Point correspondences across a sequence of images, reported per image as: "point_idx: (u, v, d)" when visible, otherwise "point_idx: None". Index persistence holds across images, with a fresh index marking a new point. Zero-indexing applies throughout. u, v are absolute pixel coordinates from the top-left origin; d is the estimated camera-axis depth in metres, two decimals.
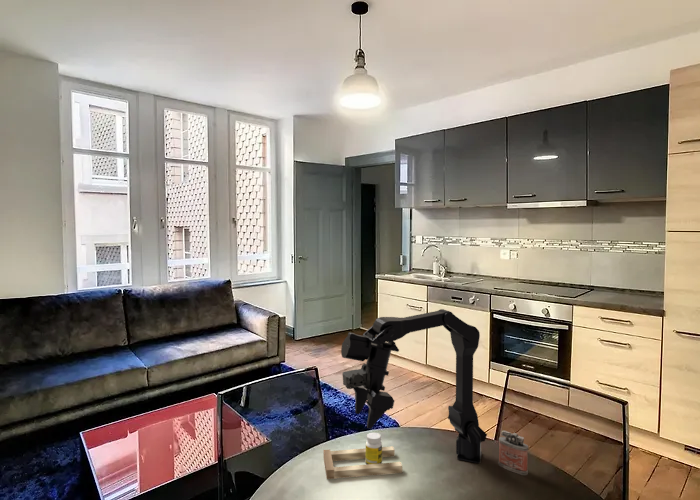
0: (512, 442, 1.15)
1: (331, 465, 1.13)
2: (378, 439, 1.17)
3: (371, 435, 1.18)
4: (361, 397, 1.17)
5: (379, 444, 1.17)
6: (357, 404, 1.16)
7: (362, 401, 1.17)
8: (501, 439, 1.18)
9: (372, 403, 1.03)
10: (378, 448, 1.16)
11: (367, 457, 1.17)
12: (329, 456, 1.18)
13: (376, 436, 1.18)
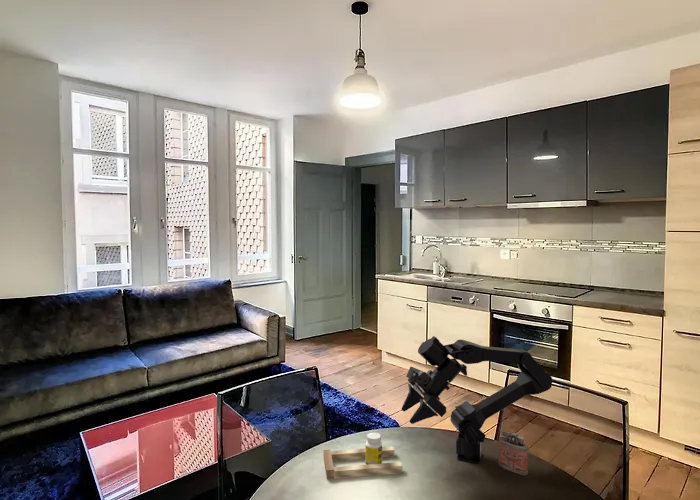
0: (512, 442, 1.15)
1: (331, 465, 1.13)
2: (378, 439, 1.17)
3: (371, 435, 1.18)
4: (412, 399, 1.24)
5: (379, 444, 1.17)
6: (406, 402, 1.23)
7: (411, 403, 1.24)
8: (501, 439, 1.18)
9: (428, 402, 1.11)
10: (378, 448, 1.16)
11: (367, 457, 1.17)
12: (329, 456, 1.18)
13: (376, 436, 1.18)
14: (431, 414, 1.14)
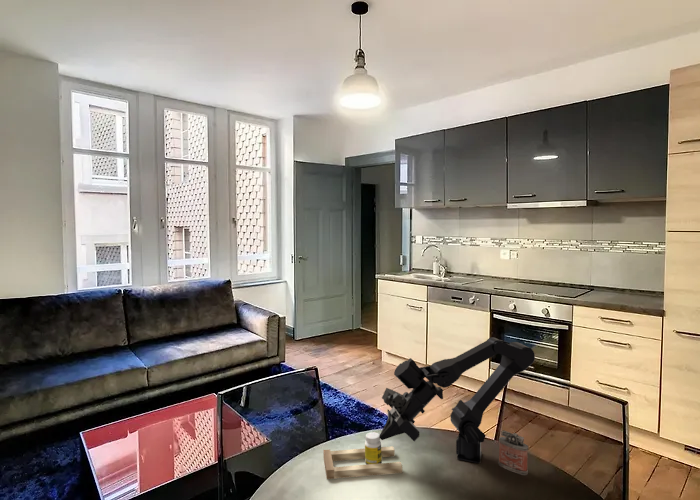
0: (512, 442, 1.15)
1: (331, 465, 1.13)
2: (377, 438, 1.17)
3: (370, 435, 1.18)
4: None
5: (378, 443, 1.17)
6: None
7: None
8: (501, 439, 1.18)
9: (401, 426, 1.10)
10: (377, 447, 1.16)
11: (367, 457, 1.17)
12: (329, 456, 1.18)
13: (374, 436, 1.18)
14: (401, 431, 1.17)
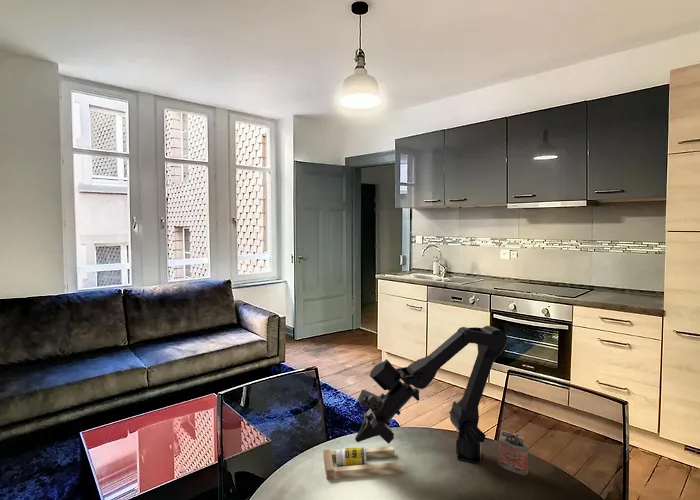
0: (512, 442, 1.15)
1: (331, 465, 1.13)
2: (337, 456, 1.16)
3: None
4: None
5: (343, 455, 1.16)
6: None
7: None
8: (501, 439, 1.18)
9: (375, 428, 1.09)
10: (345, 458, 1.16)
11: None
12: (329, 456, 1.18)
13: (336, 456, 1.17)
14: (376, 433, 1.16)
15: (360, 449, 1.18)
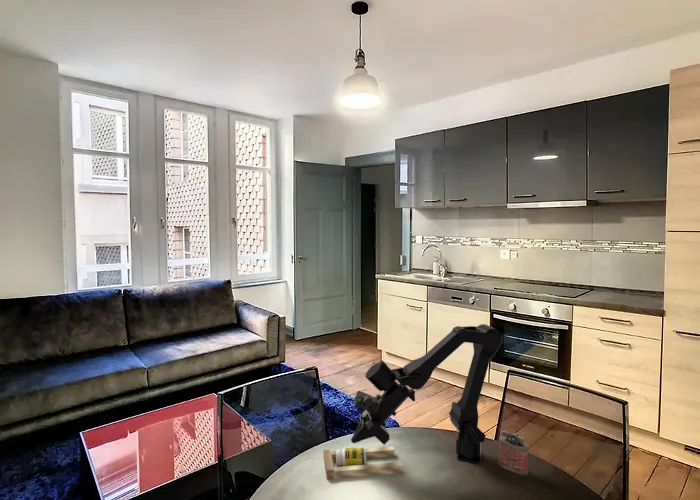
0: (512, 442, 1.15)
1: (331, 465, 1.13)
2: (337, 457, 1.16)
3: None
4: None
5: (343, 455, 1.16)
6: None
7: None
8: (501, 439, 1.18)
9: (370, 429, 1.09)
10: (345, 458, 1.16)
11: None
12: (329, 456, 1.18)
13: (336, 457, 1.17)
14: (372, 434, 1.16)
15: (360, 449, 1.18)
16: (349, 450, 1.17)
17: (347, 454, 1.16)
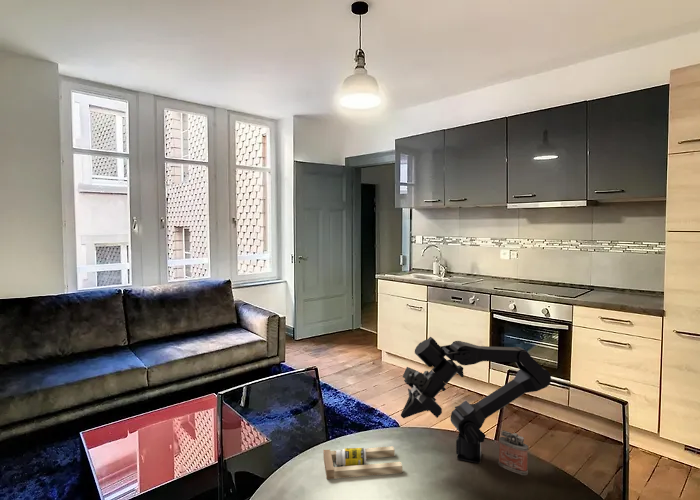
0: (512, 442, 1.15)
1: (331, 465, 1.13)
2: (337, 457, 1.16)
3: None
4: None
5: (343, 455, 1.16)
6: None
7: None
8: (501, 439, 1.18)
9: (423, 402, 1.11)
10: (345, 458, 1.16)
11: None
12: (329, 456, 1.18)
13: (336, 457, 1.17)
14: (422, 409, 1.18)
15: (360, 449, 1.18)
16: (349, 450, 1.17)
17: (347, 454, 1.16)
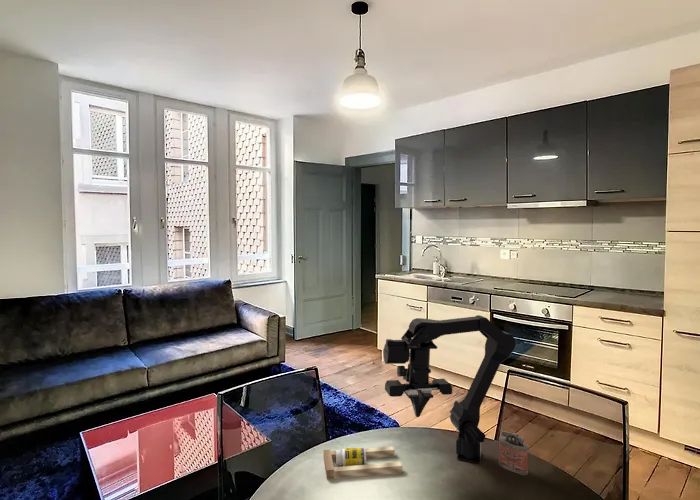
0: (512, 442, 1.15)
1: (331, 465, 1.13)
2: (337, 457, 1.16)
3: None
4: (419, 401, 1.20)
5: (343, 455, 1.16)
6: None
7: (419, 405, 1.19)
8: (501, 439, 1.18)
9: None
10: (345, 458, 1.16)
11: None
12: (329, 456, 1.18)
13: (336, 457, 1.17)
14: (413, 399, 1.17)
15: (360, 449, 1.18)
16: (349, 450, 1.17)
17: (347, 454, 1.16)
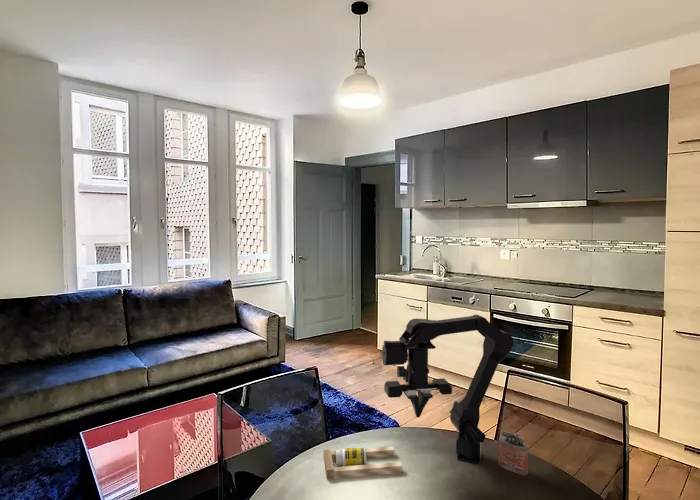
0: (512, 442, 1.15)
1: (331, 465, 1.13)
2: (337, 457, 1.16)
3: None
4: (419, 401, 1.20)
5: (343, 455, 1.16)
6: None
7: (419, 405, 1.19)
8: (501, 439, 1.18)
9: None
10: (345, 458, 1.16)
11: None
12: (329, 456, 1.18)
13: (336, 457, 1.17)
14: None
15: (360, 449, 1.18)
16: (349, 450, 1.17)
17: (347, 454, 1.16)
